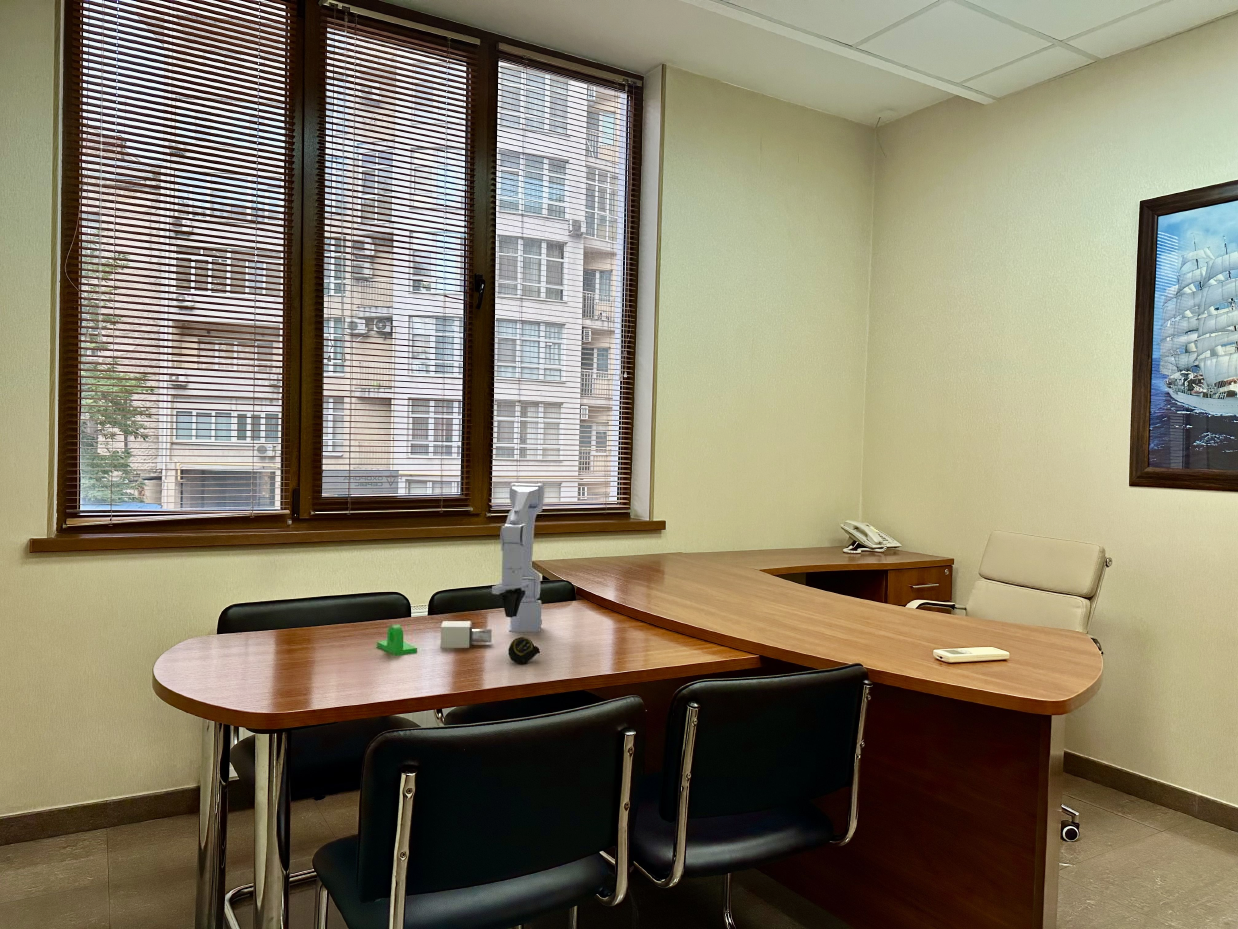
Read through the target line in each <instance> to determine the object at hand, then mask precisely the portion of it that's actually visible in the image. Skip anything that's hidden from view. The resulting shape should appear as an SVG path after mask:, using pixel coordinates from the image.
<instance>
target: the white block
mask: <svg viewBox="0 0 1238 929" xmlns="http://www.w3.org/2000/svg"><path fill="white" fill-rule="evenodd" d="M440 626H441V627H440V649H467V648H468V649H469V648H471V647H472V643H471V629H473V622H471V621H470V620H466V621H465V620H464V621H462V620H457V621H456V620H455V621H454V620H450V621H447V620H446V621H445V620H443V621H442V623H441V625H440Z"/></svg>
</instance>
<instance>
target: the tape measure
mask: <svg viewBox="0 0 1238 929" xmlns="http://www.w3.org/2000/svg"><path fill="white" fill-rule="evenodd" d="M507 649H508V650H507V651H508V652H507V653H508V654H507V655H508V657H509V659H510V660H511V661H512V662H513V663H515V664H517V665H519V666H525V665H527V664H528V663H529V662H530V661H531V660H532V659H534V658H535V656H537V655H538V654H539V655H540V654H541V651H540V648H539V647H538V646H537V645H535V644H534V642H533V641H532V640H531V639H529V638H527V637H523V636H521V637H516V638H514V639H513V640H512V641H511V643H510V645H509V646H508V648H507Z"/></svg>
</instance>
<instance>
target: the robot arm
mask: <svg viewBox="0 0 1238 929" xmlns="http://www.w3.org/2000/svg"><path fill="white" fill-rule="evenodd" d="M509 485H510V487H509V496H508V497H509V502H510V505H511V508H512V509H511V510H510V511H509V512H508V515H507V518H506V521H505V524H504V526H503V525H502V526H501V528H500V533H499V534H500V536H499V537H500V538H499V539H500V550H501V553H502V558H501V581H499V583H497V584H496V585H493V586H492V587H491V594H493V595H498V597H499V598H500V601H501V603H502V607H503V610H504V614H505V617H506V618H510V622H509V623H510V624H508V633H509V632H510V633H518V632H519V633H520V632H521V633H522V632H523V633H525V632H526V633H530V632H531V633H536V632H542V625H543V618H542V600H538V599H539V598H540V594H541V575H540V573H539V572H538V571H537V570H536V569H534V568H533V567H532V566H533V552H534V540H535V539H534V537H535V522H536V517H537V515H538V514H539V513H541V512H542V511H543V508H544V497H545V496H544V495H545V490H544V489H545V488H544V485H543V483H522V482H520V483H519V482H512V483H511V484H509Z"/></svg>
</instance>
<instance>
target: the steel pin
mask: <svg viewBox="0 0 1238 929" xmlns="http://www.w3.org/2000/svg"><path fill="white" fill-rule="evenodd" d="M492 632H493V631H492V629H491V628H485V629H483V628H482V629H480V628H475V629H473V628H472V629H471V644H472V643H479V644H481V643H482V644H483V643H488V644H489V643H492V636H493V635H492Z"/></svg>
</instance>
